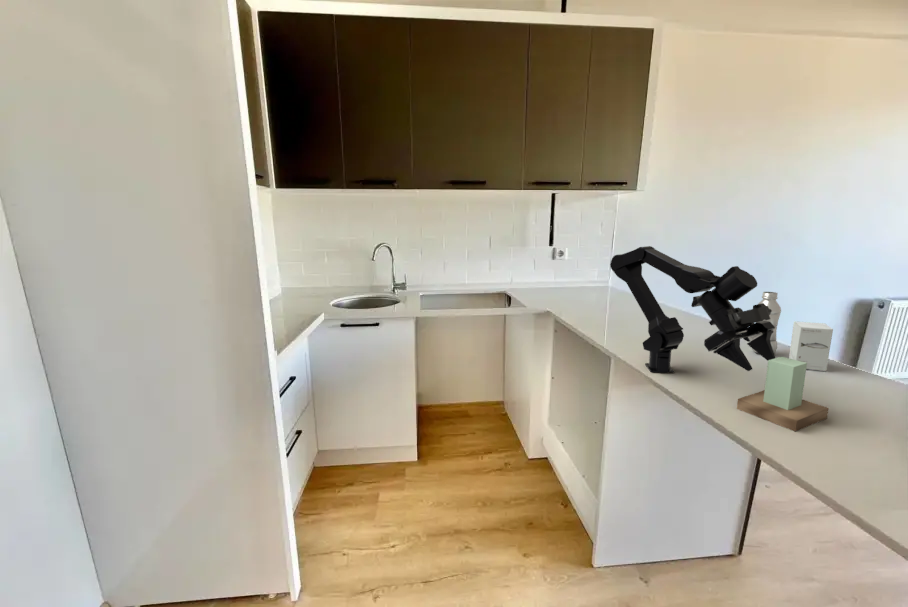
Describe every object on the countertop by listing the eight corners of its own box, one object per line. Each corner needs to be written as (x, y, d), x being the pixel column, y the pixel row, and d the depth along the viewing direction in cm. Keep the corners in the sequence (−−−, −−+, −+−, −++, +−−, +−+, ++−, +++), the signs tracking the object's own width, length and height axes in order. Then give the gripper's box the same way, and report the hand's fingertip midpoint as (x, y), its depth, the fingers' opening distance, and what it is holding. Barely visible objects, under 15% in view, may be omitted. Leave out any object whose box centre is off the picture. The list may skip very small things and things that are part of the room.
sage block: (763, 401, 94) (768, 360, 92) (776, 396, 96) (781, 356, 94) (787, 410, 90) (793, 367, 88) (801, 405, 92) (807, 362, 90)
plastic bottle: (765, 358, 128) (773, 295, 124) (745, 351, 134) (751, 291, 130) (781, 355, 130) (789, 293, 125) (760, 349, 136) (767, 290, 132)
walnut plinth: (736, 408, 97) (737, 398, 96) (767, 398, 101) (769, 388, 101) (795, 431, 86) (796, 420, 85) (827, 418, 91) (828, 407, 90)
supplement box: (794, 368, 119) (799, 326, 116) (788, 360, 125) (793, 320, 123) (827, 372, 115) (833, 329, 113) (819, 363, 122) (825, 322, 119)
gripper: (721, 297, 93) (768, 357, 86) (771, 288, 101) (818, 343, 93) (686, 323, 102) (726, 379, 95) (735, 313, 109) (775, 365, 102)
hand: (762, 366), depth 96 cm, fingers open, 9 cm apart
